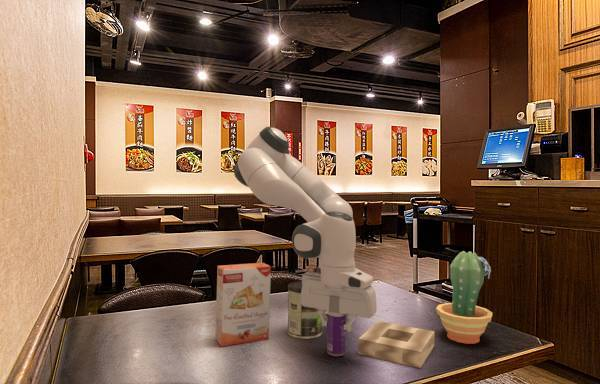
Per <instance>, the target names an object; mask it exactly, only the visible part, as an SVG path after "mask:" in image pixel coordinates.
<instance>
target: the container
mask: <svg viewBox="0 0 600 384" xmlns="http://www.w3.org/2000/svg"><path fill="white" fill-rule="evenodd" d="M329 296H330V295H329ZM339 298H341V297H336V296H330V300H329V311H328V314H327V319H328V327H326V328H327V332H326V333H327V334H326V337H327V338H326V339H327V341H326V353H327V354H328V355H330V356H332V357H341V356H344V355H345V354H346V334H347V331H344V324H345V323H346V322H347V314H342V313H340V311H339Z"/></svg>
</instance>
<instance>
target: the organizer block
mask: <svg viewBox="0 0 600 384" xmlns="http://www.w3.org/2000/svg"><path fill="white" fill-rule="evenodd" d="M435 336H436V335H435V331H434V330H428V329H423V328H417V327H413V326H406V325H402V324H396V323H391V322H385V321H380V320H378V321H376V322H375V323H373V325H372V326H371V327H369V329H367V331H365V332H364V333H363V334H362V335H361V336H360V337H359V338H358V341H357V342H358V343H357V344H358V345H357V354H358V355H362V356H366V357H369V358H375V359H379V360H383V361H387V362H391V363H396V364H400V365H404V366H409V367H413V368H417V369H421V368H422V367H423V365H424V364H425V362H426V361H427V358H428V357H429V356H430V354H431V353H432V351H433V349H434V348H435Z"/></svg>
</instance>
